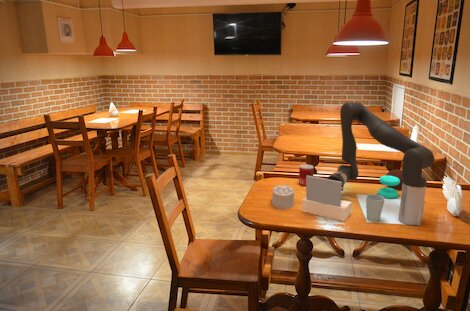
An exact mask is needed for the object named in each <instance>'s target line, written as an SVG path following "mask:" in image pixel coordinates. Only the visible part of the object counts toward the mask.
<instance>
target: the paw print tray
mask: <svg viewBox="0 0 470 311" xmlns="http://www.w3.org/2000/svg"><path fill="white" fill-rule="evenodd" d="M271 194H272V197H271V198H272V200H271V203H272V204H271V205H272V206H273V208H274V207H275V209H279V210H289V209H291V208H293V207H294V200H295V198H294V197H295V196H294V195H295V190H294V188H293V187H292V186H289V185H280V184H279V185H276V186H274V187H272V193H271Z"/></svg>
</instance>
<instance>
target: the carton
mask: <svg viewBox="0 0 470 311" xmlns="http://www.w3.org/2000/svg"><path fill="white" fill-rule="evenodd" d="M301 202H302V204H301V206H302V208H301V212H302V213H303V212H304V213H306V214H311V215H316V216H320V217H324V218H329V219H332V220H336V221H341V222H345V221H346V220H347V218H349V216H351V213H352V202H351V201H347V200H343V199H341V207H337V206H332V205H328V204H323V203H319V202H314V201H310V200H306V196H305V197H303V198H302V201H301Z"/></svg>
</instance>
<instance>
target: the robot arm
mask: <svg viewBox="0 0 470 311" xmlns="http://www.w3.org/2000/svg"><path fill="white" fill-rule="evenodd" d="M339 116H340V128H341V137H342V139H341V140H342V145H341V147H342V148H341V160H342V161H344V162H346V163H348V164H349V165H347V164H346V165H345V164H341V165H339V166H338V168H337V171H335V172H332V173H331V174H330V175H328V177H327V178H326V179H329V180H334V181H340V182H342V187H341V192H343V191H344V185H345V184H346V183H347V182H348V181H349V180H352V181H354V180H356V179H357V178H358V177H359V168H358V162H357V142H356V138H355V136H354V134H353V130H352V128H353V127H352V126H353V121H356V122H359V123H360V124H362V125H364V126H365V127H366V128H367V130H368V132H369V134H370V137H372V138H373V139H374V140H375V141H377V143H380V144H381V145H382V146H385V147H387V148H390V149H393V150H395V151H399V152H400V153H403V157H402V165H401V168H402V169H401V171H402V178H403V185H402V190H401V194H400V202H399V210H398V218H397V220H399V222H401V223H403V224H406V225H410V226H421V223H422V221H423V214H424V208H425V197H426V190H427V184H428V181H427V180H428V179H427V178H426V177H424V176H423V170H425V169H428V168H430V167H431V166H433V165H434V164H435V160H436V159H435V155H434V153H433V152H432V151H431V149H429V148H428V147H426V146H424V145H422V144H420V143H419V142H416V141H414V140H413V139H411V138H410V137H408V135H406V134H404V133H403V132H401V131H400V130H398V129H396V128H395V127H394V126H393V125H391V124H389V123H388V122H387V121H385V120H383V119H382V118H381V117H379V116H377V115H376V114H375V113H373V112H372V111H371V110H369V108H367V107H366V106H365V105H364V104H362V103H360V102H354V101H353V102H345V103H343V104H342V105H341V107H340V111H339Z"/></svg>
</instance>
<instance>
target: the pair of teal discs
mask: <svg viewBox="0 0 470 311" xmlns="http://www.w3.org/2000/svg"><path fill="white" fill-rule="evenodd" d="M378 181H379V182H380V184H382V185H384V186H396V185H398V184H399V183H400V180H399V178H397V177H394V176H386V175H381V176H380V177H379V179H378ZM377 195H380V196H382V197H384V198H386V199H395V198H396V199H397V197H399V191H398V190H395V189H392V188H388V187H381V188H379V189H378V191H377Z"/></svg>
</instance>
